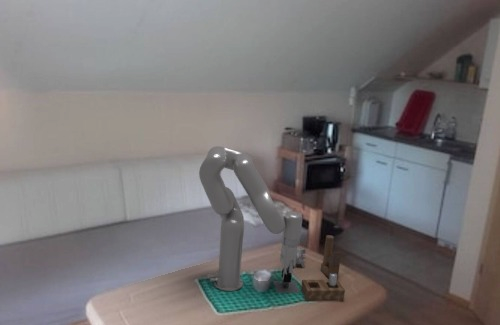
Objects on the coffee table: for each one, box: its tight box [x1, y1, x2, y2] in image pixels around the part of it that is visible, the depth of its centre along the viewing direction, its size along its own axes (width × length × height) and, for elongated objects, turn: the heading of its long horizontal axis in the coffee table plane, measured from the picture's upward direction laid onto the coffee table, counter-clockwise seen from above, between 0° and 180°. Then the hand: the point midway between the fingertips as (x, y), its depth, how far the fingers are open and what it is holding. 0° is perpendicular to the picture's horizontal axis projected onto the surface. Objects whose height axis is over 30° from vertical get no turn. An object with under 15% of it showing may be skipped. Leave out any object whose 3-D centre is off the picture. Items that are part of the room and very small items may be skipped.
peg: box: [281, 266, 289, 288], centre depth 192 cm, size 3×3×10 cm
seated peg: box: [328, 273, 337, 288], centre depth 188 cm, size 3×3×10 cm
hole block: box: [300, 279, 346, 302], centre depth 188 cm, size 16×9×5 cm, turn 98°
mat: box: [272, 280, 301, 294], centre depth 193 cm, size 10×10×1 cm
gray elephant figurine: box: [296, 247, 307, 269], centre depth 216 cm, size 9×12×8 cm
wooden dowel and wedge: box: [320, 234, 342, 281], centre depth 205 cm, size 4×11×18 cm, turn 18°
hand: (286, 279), depth 192 cm, fingers closed on peg, 3 cm apart
